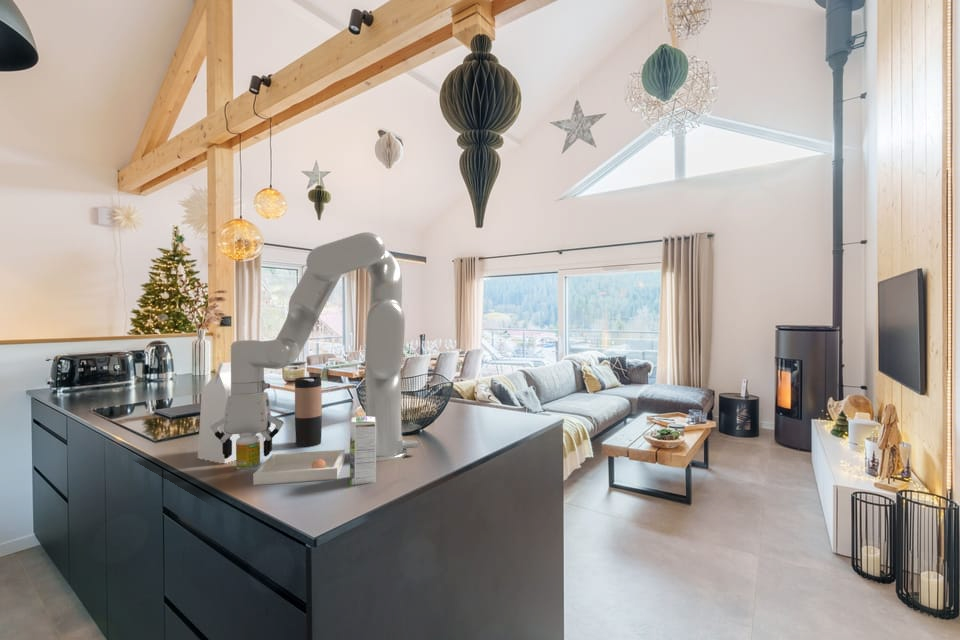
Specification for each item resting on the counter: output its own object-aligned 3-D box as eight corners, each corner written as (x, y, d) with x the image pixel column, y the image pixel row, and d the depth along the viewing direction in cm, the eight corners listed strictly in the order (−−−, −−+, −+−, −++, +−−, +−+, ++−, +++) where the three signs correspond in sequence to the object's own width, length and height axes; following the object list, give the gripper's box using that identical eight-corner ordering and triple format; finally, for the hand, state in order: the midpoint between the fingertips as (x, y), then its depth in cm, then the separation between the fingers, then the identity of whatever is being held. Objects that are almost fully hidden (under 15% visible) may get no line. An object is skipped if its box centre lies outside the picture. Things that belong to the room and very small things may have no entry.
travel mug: (303, 440, 136) (303, 376, 136) (326, 440, 135) (326, 376, 135) (289, 447, 129) (289, 379, 129) (314, 447, 128) (313, 380, 128)
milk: (238, 447, 130) (238, 359, 130) (265, 451, 125) (264, 361, 125) (197, 458, 119) (197, 363, 119) (224, 464, 114) (223, 365, 114)
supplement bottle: (249, 471, 108) (249, 432, 108) (231, 469, 109) (230, 431, 109) (264, 464, 113) (264, 426, 113) (246, 463, 114) (246, 426, 115)
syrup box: (350, 478, 102) (349, 417, 102) (376, 476, 104) (375, 415, 104) (349, 487, 96) (349, 422, 97) (377, 484, 98) (376, 420, 98)
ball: (326, 469, 107) (326, 456, 107) (324, 474, 104) (324, 460, 104) (313, 470, 106) (313, 457, 106) (310, 475, 103) (310, 461, 103)
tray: (345, 461, 115) (345, 449, 115) (337, 481, 100) (337, 468, 100) (272, 465, 112) (272, 454, 112) (253, 487, 97) (253, 474, 97)
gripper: (287, 385, 117) (287, 449, 117) (216, 387, 114) (216, 453, 113) (279, 389, 109) (279, 458, 109) (203, 391, 106) (204, 462, 106)
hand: (247, 455), depth 111 cm, fingers open, 8 cm apart
